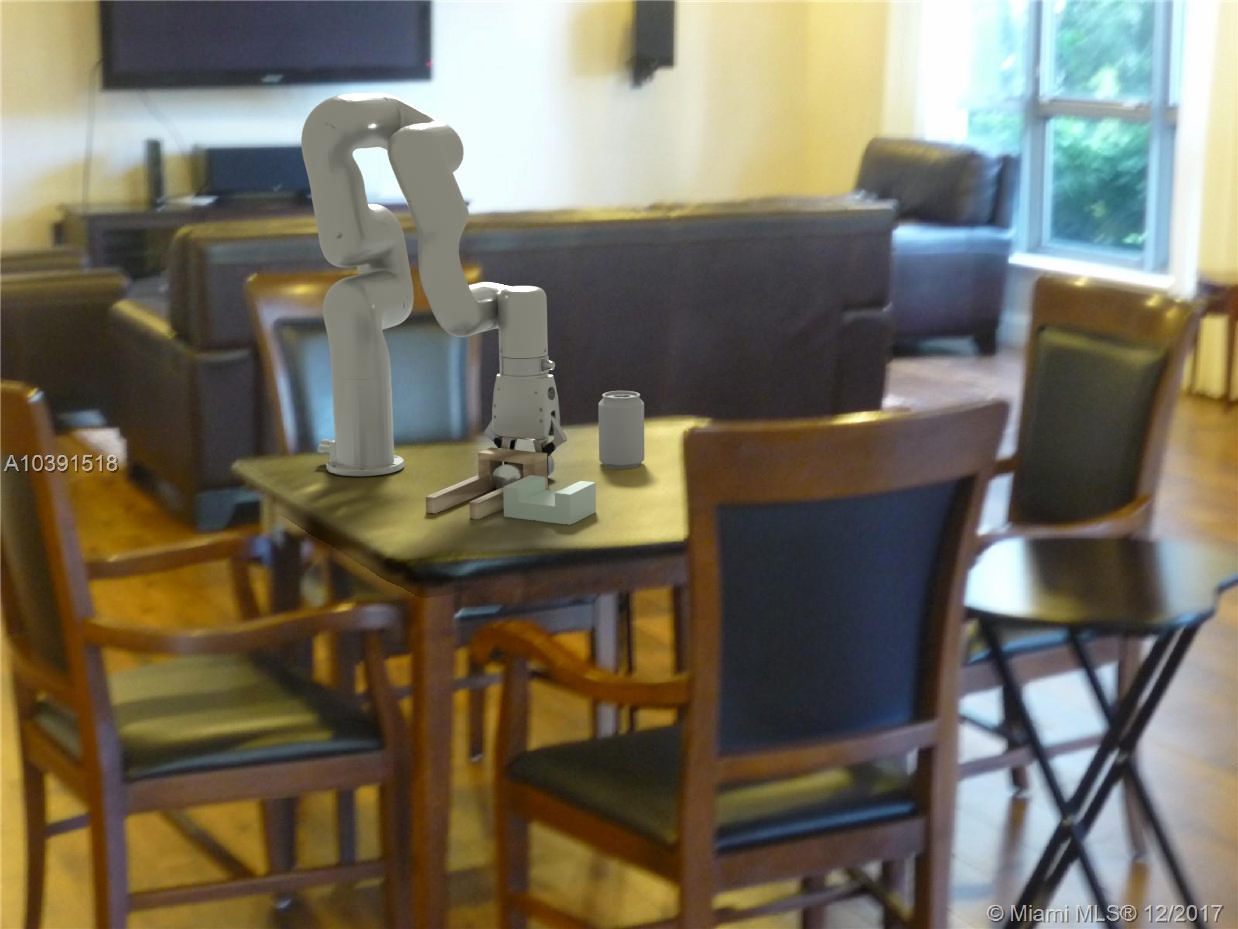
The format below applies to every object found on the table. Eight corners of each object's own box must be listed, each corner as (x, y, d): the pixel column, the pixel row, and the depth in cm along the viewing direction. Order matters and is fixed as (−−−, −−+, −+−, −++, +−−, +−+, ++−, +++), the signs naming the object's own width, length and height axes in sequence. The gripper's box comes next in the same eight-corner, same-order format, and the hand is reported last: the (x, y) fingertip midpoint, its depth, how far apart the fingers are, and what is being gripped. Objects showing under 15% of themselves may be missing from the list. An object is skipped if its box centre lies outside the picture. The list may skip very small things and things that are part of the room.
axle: (516, 496, 263) (518, 469, 262) (491, 490, 265) (493, 463, 263) (553, 479, 273) (555, 453, 272) (529, 473, 275) (531, 447, 274)
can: (646, 459, 285) (646, 389, 282) (642, 470, 278) (642, 397, 275) (601, 459, 286) (600, 388, 283) (596, 469, 279) (595, 397, 276)
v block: (503, 516, 250) (503, 486, 249) (530, 504, 257) (530, 475, 256) (570, 525, 245) (570, 494, 244) (595, 512, 252) (595, 482, 251)
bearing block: (423, 512, 253) (422, 474, 251) (492, 483, 270) (491, 447, 269) (481, 520, 248) (480, 481, 247) (547, 489, 266) (547, 453, 264)
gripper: (583, 366, 265) (585, 480, 269) (489, 359, 272) (492, 470, 276) (560, 374, 258) (562, 491, 262) (464, 366, 266) (468, 481, 270)
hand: (526, 479), depth 269 cm, fingers closed on axle, 4 cm apart
